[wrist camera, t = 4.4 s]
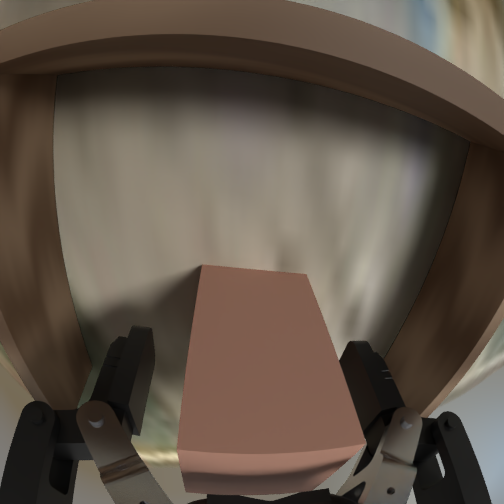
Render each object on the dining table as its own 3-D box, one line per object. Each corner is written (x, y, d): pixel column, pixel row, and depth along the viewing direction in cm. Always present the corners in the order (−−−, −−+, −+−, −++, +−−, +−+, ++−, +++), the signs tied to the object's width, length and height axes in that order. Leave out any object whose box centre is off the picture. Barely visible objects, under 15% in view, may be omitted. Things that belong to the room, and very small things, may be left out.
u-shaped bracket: (42, 56, 7) (-43, 52, 3) (486, 129, 9) (563, 156, 5) (78, 363, 15) (54, 426, 11) (380, 382, 17) (403, 440, 13)
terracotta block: (202, 264, 12) (176, 449, 5) (306, 274, 13) (366, 443, 6) (198, 340, 14) (185, 492, 7) (285, 346, 15) (311, 490, 8)
